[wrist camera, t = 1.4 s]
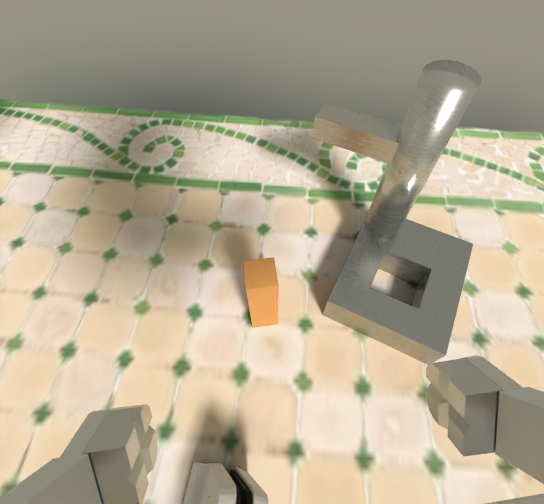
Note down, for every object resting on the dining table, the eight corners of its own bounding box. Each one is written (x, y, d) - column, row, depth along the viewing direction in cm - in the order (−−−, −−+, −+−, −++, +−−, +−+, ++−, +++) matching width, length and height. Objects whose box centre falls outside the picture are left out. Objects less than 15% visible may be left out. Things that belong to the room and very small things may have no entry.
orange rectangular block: (252, 327, 37) (245, 289, 28) (250, 304, 38) (243, 261, 30) (277, 324, 37) (278, 285, 29) (274, 301, 39) (273, 257, 30)
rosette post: (264, 287, 39) (254, 135, 21) (312, 205, 46) (338, 32, 27) (429, 364, 35) (611, 259, 16) (456, 261, 41) (609, 98, 22)
